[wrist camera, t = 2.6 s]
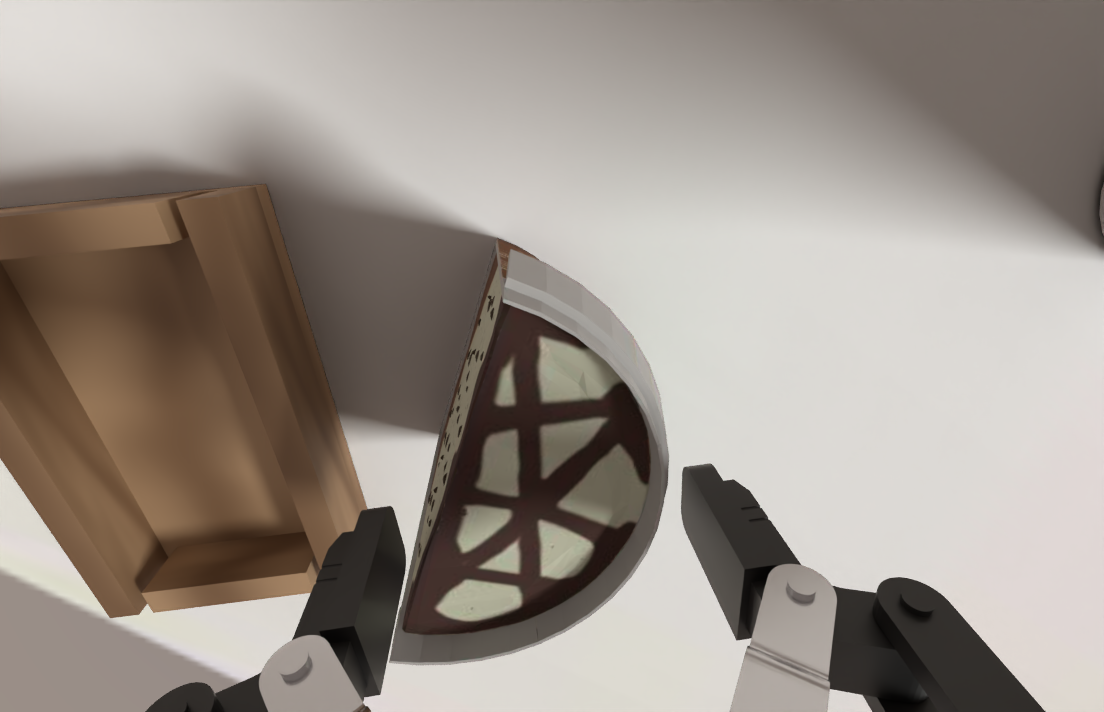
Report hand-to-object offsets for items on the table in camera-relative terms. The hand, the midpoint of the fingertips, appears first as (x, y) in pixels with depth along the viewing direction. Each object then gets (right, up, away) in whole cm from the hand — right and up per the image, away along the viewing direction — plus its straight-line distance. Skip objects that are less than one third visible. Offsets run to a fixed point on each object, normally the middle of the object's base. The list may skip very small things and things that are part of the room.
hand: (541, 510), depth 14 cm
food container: (-1, +4, +8) cm, 9 cm away
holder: (-14, +2, +7) cm, 16 cm away
